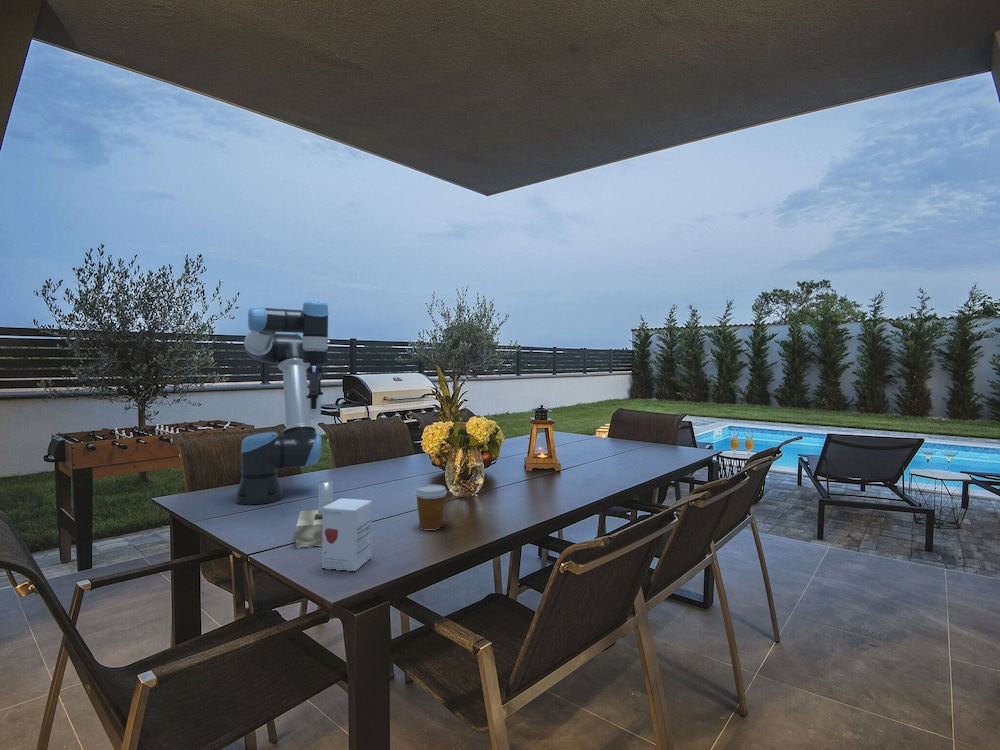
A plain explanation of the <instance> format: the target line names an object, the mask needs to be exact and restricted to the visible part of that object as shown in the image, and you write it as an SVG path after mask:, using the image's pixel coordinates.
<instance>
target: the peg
mask: <svg viewBox="0 0 1000 750" xmlns="http://www.w3.org/2000/svg"><path fill="white" fill-rule="evenodd" d="M333 502H334V481H333V480H321V481H318V482H317V510H318V520H320V519H323V507H324V506H326V505H328V504H330V503H333Z"/></svg>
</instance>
